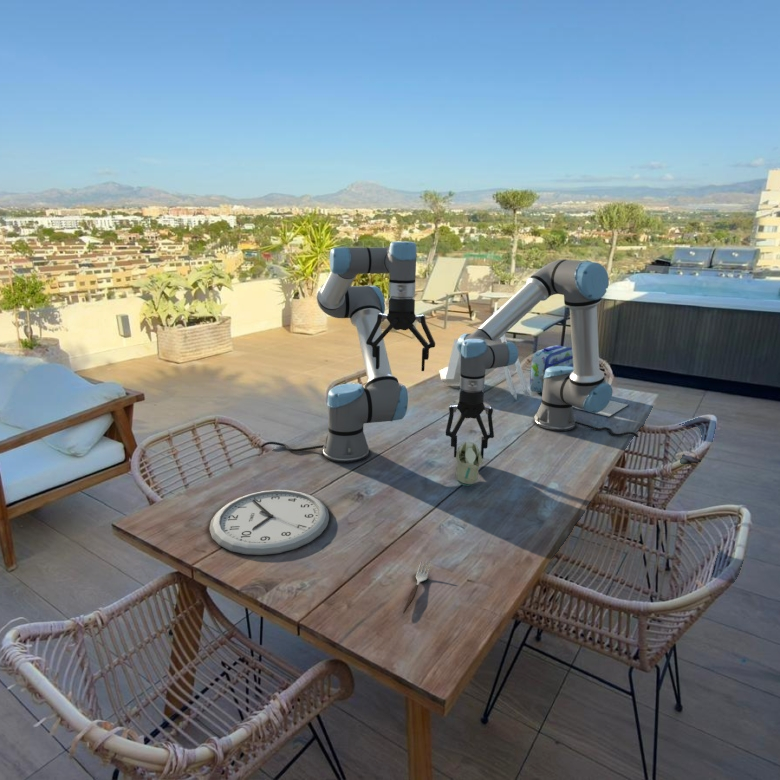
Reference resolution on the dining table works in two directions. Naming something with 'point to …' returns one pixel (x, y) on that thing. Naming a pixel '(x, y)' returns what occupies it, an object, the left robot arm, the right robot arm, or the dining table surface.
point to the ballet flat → (468, 463)
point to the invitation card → (610, 408)
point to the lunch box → (548, 363)
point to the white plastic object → (453, 370)
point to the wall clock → (269, 522)
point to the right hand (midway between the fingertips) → (468, 456)
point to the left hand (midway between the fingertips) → (400, 369)
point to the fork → (420, 577)
